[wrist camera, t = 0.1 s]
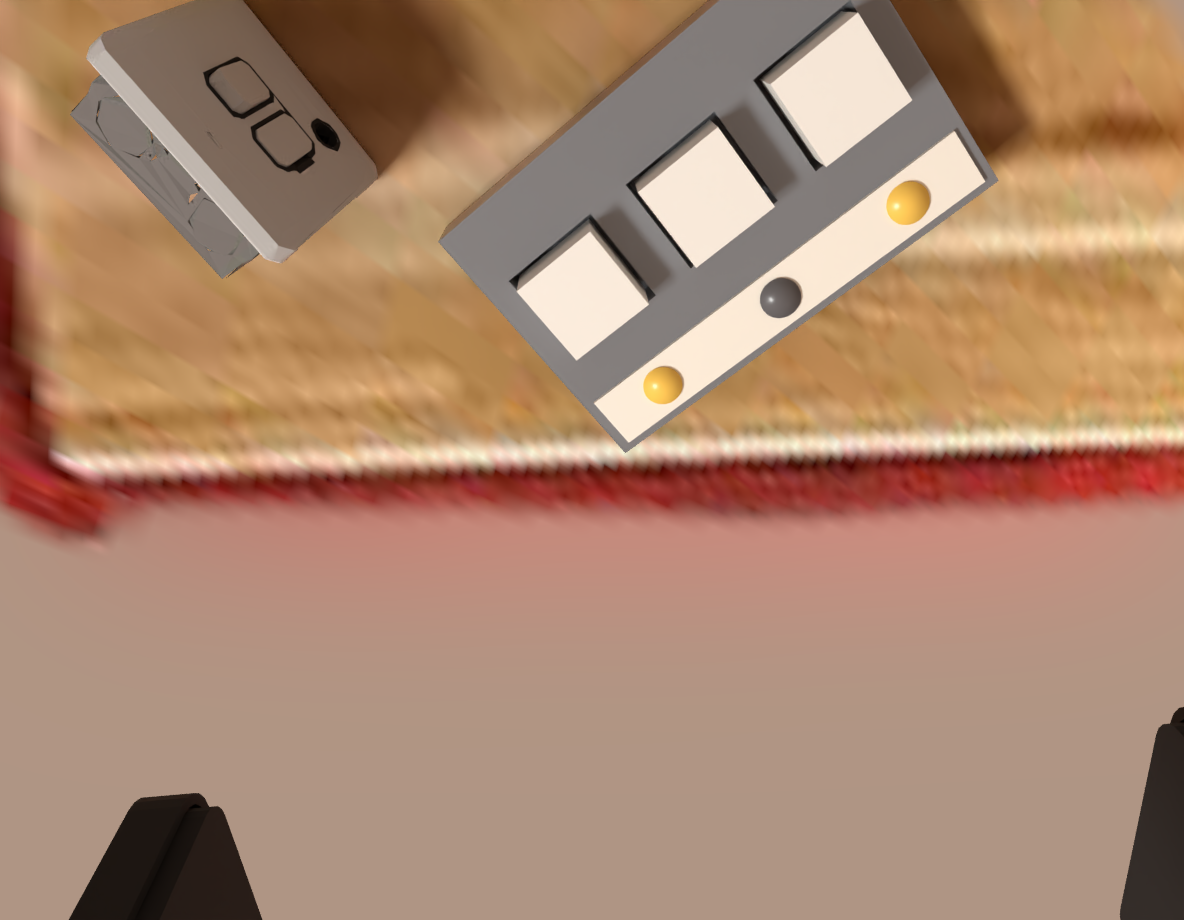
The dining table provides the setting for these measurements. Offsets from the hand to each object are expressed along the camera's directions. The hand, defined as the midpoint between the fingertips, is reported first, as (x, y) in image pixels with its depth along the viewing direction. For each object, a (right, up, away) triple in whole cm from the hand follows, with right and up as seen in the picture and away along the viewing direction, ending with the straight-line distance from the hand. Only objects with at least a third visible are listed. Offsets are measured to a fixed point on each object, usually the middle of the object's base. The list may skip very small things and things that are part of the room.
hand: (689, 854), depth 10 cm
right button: (+9, +19, +30) cm, 37 cm away
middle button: (+4, +16, +31) cm, 35 cm away
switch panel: (+4, +16, +34) cm, 37 cm away
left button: (-1, +12, +33) cm, 35 cm away
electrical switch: (-15, +19, +32) cm, 40 cm away
